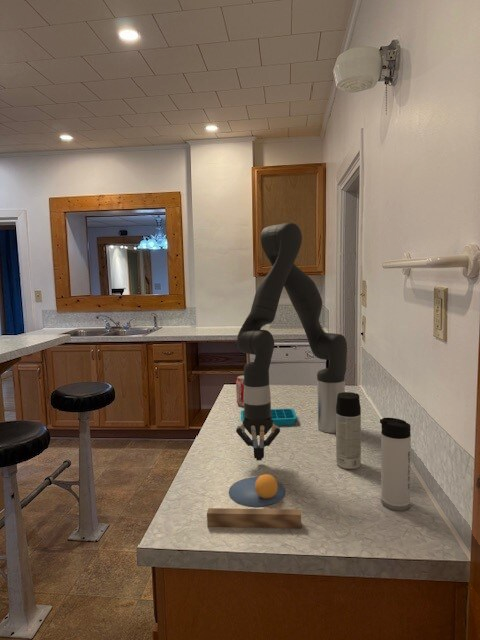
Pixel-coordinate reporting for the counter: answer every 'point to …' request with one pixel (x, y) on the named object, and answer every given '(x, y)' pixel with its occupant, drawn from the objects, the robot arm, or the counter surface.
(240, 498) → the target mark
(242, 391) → the soda can
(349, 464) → the spray can
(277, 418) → the ice cube tray
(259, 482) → the ball
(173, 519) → the counter surface
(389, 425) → the travel mug
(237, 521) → the wall
